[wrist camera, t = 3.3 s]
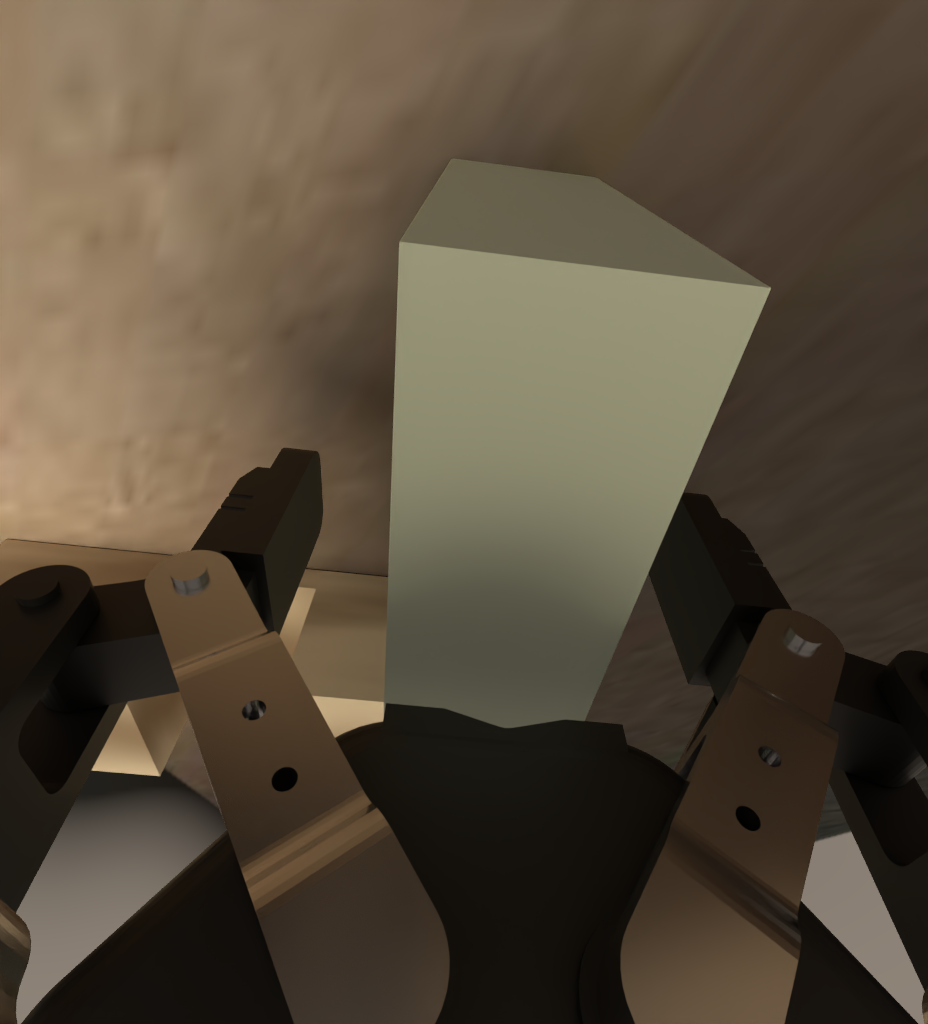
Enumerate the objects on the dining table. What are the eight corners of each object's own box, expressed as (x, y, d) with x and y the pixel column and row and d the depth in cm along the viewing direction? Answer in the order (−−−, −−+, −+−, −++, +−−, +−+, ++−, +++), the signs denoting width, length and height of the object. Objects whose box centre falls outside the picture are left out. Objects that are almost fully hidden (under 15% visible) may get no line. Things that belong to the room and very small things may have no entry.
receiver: (6, 539, 21) (-124, 656, 16) (499, 588, 21) (504, 713, 17) (60, 641, 24) (-35, 760, 20) (480, 680, 25) (479, 802, 21)
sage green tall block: (451, 158, 13) (399, 242, 5) (595, 176, 13) (770, 288, 5) (421, 539, 20) (379, 825, 12) (514, 549, 20) (533, 838, 12)
